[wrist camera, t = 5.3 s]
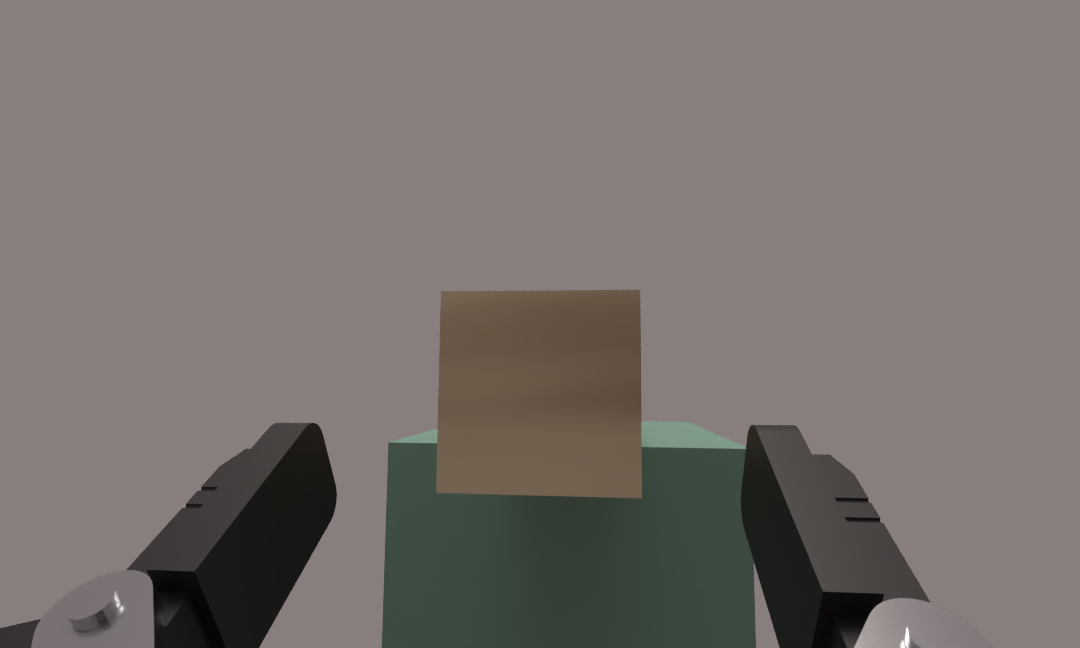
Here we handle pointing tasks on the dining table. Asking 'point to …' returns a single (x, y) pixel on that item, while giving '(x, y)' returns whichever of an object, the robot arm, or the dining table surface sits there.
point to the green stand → (573, 556)
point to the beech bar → (540, 393)
